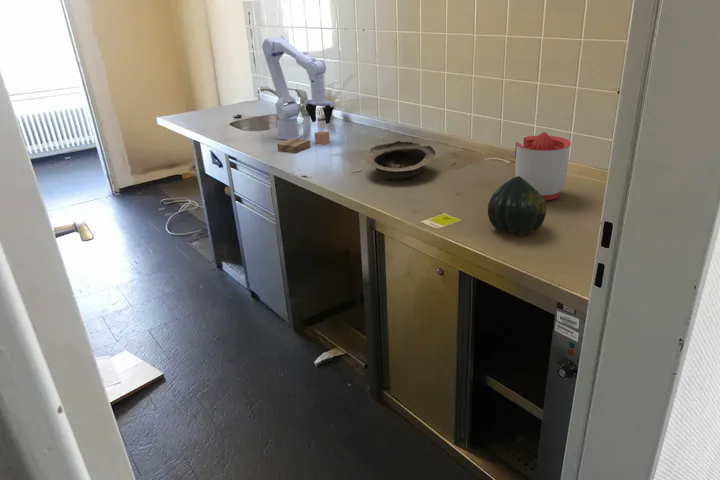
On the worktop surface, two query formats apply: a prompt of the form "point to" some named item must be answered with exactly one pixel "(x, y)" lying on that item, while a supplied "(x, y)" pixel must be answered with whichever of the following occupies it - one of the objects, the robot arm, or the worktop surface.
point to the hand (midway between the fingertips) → (320, 122)
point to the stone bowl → (399, 159)
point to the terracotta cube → (322, 138)
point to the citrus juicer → (543, 163)
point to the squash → (517, 207)
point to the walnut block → (294, 145)
